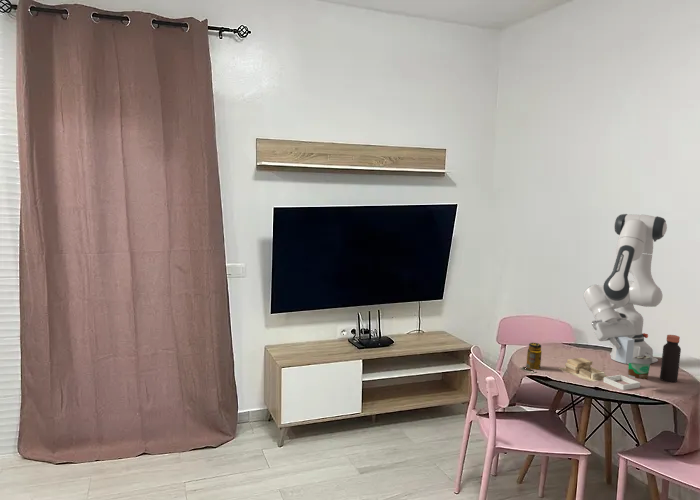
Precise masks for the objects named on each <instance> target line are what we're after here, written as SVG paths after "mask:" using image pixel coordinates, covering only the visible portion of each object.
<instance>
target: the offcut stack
mask: <svg viewBox="0 0 700 500" xmlns="http://www.w3.org/2000/svg"><path fill="white" fill-rule="evenodd" d="M566 360H567V361H566V362H565V365H564V367H566V370H569V371H571V372H573V373H579V371H580V369H581V368H582V369H584V370H587V371H589V370H590V367H591V366H592V365H593V361H592V360H589V359H587V358H584V357H578V358H569V359H566Z"/></svg>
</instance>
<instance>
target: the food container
mask: <svg viewBox="0 0 700 500" xmlns="http://www.w3.org/2000/svg"><path fill="white" fill-rule="evenodd" d="M651 364H653V363H652V358H651V356H649V355H647V354H645V356H642V357H640V356H637V357H635V358H633V359H632V363H629V364H627V365H628V366H627V368H628V369H627V373H628V374H627V375H628V376H627V377H628V378H632V379H633V378H634V379H640V380H642V379H644V380H646V381H647V380H648V378H649V372H650V367H651Z"/></svg>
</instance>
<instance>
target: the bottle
mask: <svg viewBox="0 0 700 500" xmlns="http://www.w3.org/2000/svg"><path fill="white" fill-rule="evenodd" d="M680 340H681V339H680V336H679V335H676V334H675V335H674V334H667V335H666V343H665V344H664V345H663V346H662V355H661V365H660V371H659V372H660V375H659V378H660V380H661V381H663V382H666V383H676V382H678V378H679V371H680V370H679V368H680V362H681V361H680V360H681V353H682V351H681V350H682V349H681V347H680V345H679V343H680Z"/></svg>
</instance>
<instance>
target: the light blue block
mask: <svg viewBox="0 0 700 500" xmlns="http://www.w3.org/2000/svg"><path fill="white" fill-rule="evenodd" d="M617 342H618V343H620V344H621V346H622V348H620V349H616V358H615V360H616V361H615V360H614V361H615V362H618V361H619V362H618V363H621V362H622V364H625V365H628V364H627V363H632V359H633V350H634V339H631V338H628V337H625V336H624V337H618V339H617Z"/></svg>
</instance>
